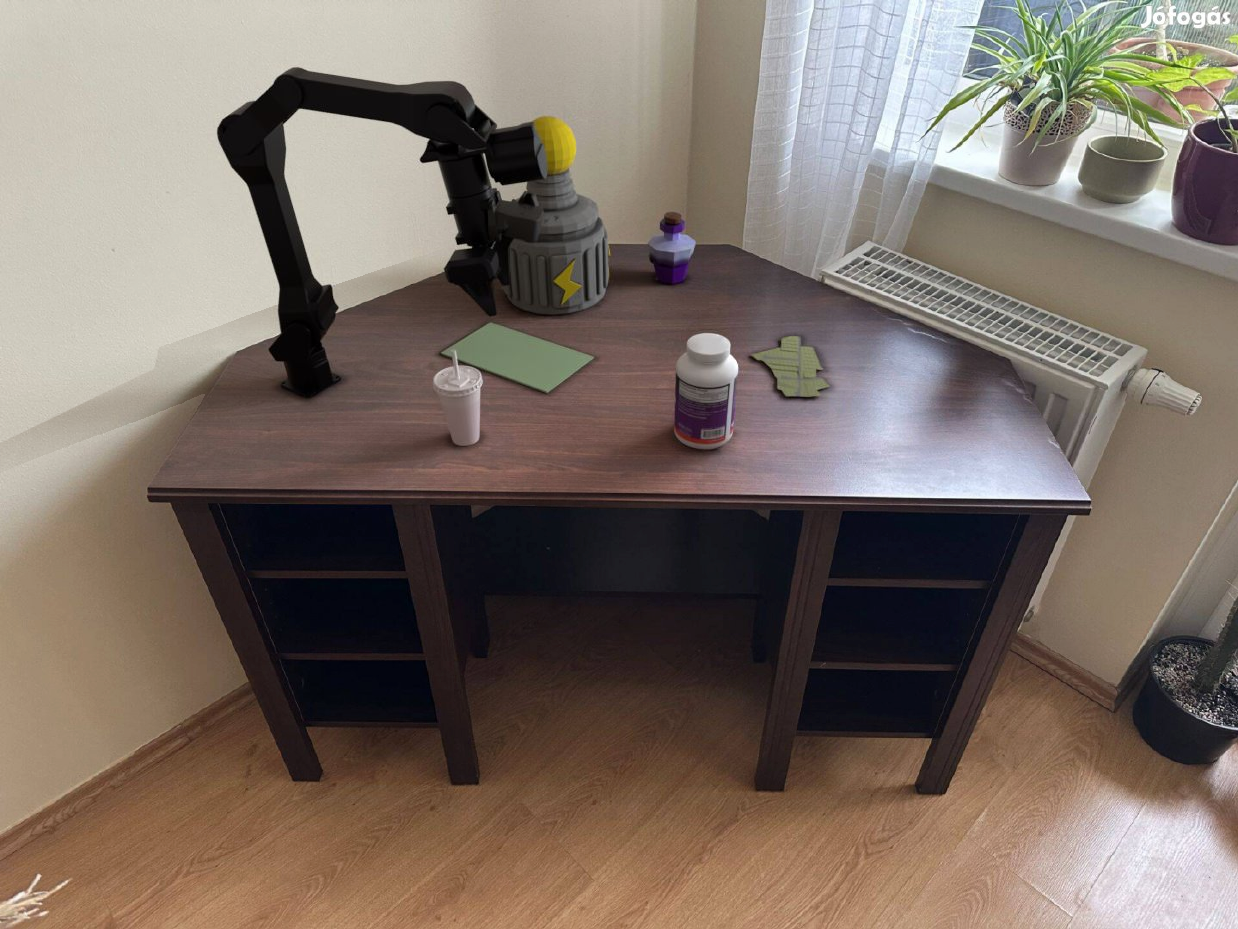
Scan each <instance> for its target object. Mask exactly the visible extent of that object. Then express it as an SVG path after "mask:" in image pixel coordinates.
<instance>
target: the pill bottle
mask: <svg viewBox="0 0 1238 929" xmlns="http://www.w3.org/2000/svg"><path fill="white" fill-rule="evenodd" d="M738 379H739V364H738V363H737V360H736V359H735V357H734V356H733V355H732V354H731V342H730V340H729V339H728V338H727V337H725V336H723V335H721V334H717V333H711V332H703V333H698V334H694V335H692V336H691V337H689V338H688V340H687V342H686V350H685V352H684V353H682V354H681V355H680V357H678V359H677V361H676V365H675V384H674V387H675V388H674V415H673V417H674V418H673V432H674V435H675V437H676V438H677V439H678V440H679V442H681V443H682V444H683V445H685V446H687V447H690V448H692V449H698V450H714V449H717V448H721V447H722V446H724V445H725V444H727V443H728V442H729V441H730V440H731V439H732V436H733V433H734V426H735V414H736V413H735V412H736V401H737V388H738Z"/></svg>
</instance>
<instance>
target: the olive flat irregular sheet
mask: <svg viewBox="0 0 1238 929" xmlns="http://www.w3.org/2000/svg"><path fill="white" fill-rule="evenodd" d="M780 342H781V344H780V347H776V348H773V349H767V350H764V351H759V352H754V353H750V355H751V356H752V357H753V358H754V360H755V359H756V360H757V361H762V362H764V363H765V364H766V365H767V366H768V367H769V368H770V369H771V371H772V373H773V375H774V377H775V378H776V379H777V385H776V386H777V390H779V391H780V390H781V391H782V393H783V394H784V396H785V397H805V398H811V397H823V394H822V393H821V392H819V391H818V390H822V389H826V388H830V385H829V384H828V383H827V381H825V379H823V378H822V377H821V376H819V377H817V370H821V371H824V368H823V367H822V366H821V363H820V360H819V358H818V356H817V353H816V351H815V348H814V347H813V346H803V345H802V337H801V336H797V335H796V336H795V335H788V336H785V337H782V338H781V341H780Z"/></svg>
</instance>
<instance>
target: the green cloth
mask: <svg viewBox="0 0 1238 929" xmlns="http://www.w3.org/2000/svg"><path fill="white" fill-rule="evenodd" d="M451 350H456V356H457V362H461V363H464V364H466V365H468V366H470V367H473V368H476V369H480V370H482V371H485V372H488V373H491V374H494V375H496V376H499V377H501V378H505V379H507V380H510V381H513V382H515V383H518V384H521V385H523V386H526V387H529V388H531V389H534V390H536V391H540V392H543V393H544V394H548V393H549V392H551V391H552V390H554V389H555V388H556V387H558V386H559V385H560V384H562V383H563V382H564V381H566V380H567V379H568V378H569V377H571V376H572V375H574V374H575V373H577V371H579V370H580V369H581V368H583V367H584V366H586V365H587V364H588V363H590V362H591V361H592V360H593V359H594V358H595V357H594V355H590V354H587V353H584V352H581V351H577V350H574V349H572V348H568V347H565V346H563V345H559V344H557V343H554V342H551V341H549V340H548V341H547V340H545V339H542V338H539V337H536V336H533V335H529V334H527V333H524V332H520V331H519V330H516V329H512V328H510V327H506V326H503V325H500V324H498V323H497V324H496V323H494V322H488V323H487V324H484V326H482V327H480V328H479V329H477V330H475V331H474V332H472V333H470V334H469V335H467V336H466V337H464V338H463V339H461V340H459V341H458V342H456V343H455V344H452V345H451V346H449V347H448V348H446V349H444V350H443V351H441V352H440V354H441V356H444V357H447V358H450V359H452V352H451Z"/></svg>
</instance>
